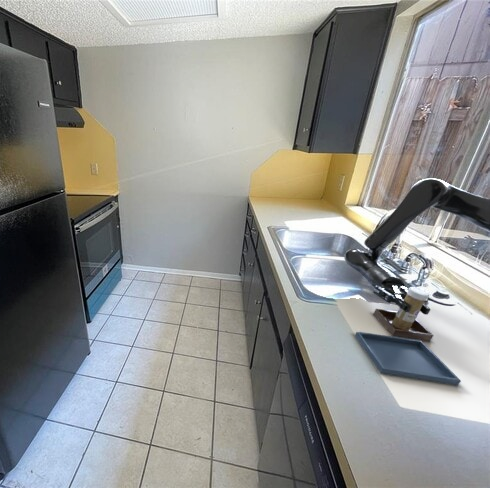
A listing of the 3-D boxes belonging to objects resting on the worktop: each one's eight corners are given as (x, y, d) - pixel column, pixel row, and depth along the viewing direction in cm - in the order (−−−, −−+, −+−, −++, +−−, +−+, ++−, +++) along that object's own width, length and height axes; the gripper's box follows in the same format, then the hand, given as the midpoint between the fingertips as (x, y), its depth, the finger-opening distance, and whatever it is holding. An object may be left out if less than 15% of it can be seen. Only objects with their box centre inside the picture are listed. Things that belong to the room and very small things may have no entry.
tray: (418, 345, 75) (421, 340, 74) (456, 386, 63) (461, 380, 62) (354, 336, 77) (356, 331, 76) (380, 374, 65) (383, 368, 64)
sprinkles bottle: (406, 333, 78) (426, 296, 73) (388, 324, 82) (406, 288, 76) (412, 328, 81) (432, 292, 75) (394, 319, 84) (412, 284, 79)
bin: (406, 319, 86) (409, 313, 84) (429, 342, 76) (433, 335, 75) (372, 315, 87) (375, 308, 86) (391, 337, 78) (395, 330, 77)
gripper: (365, 268, 90) (396, 297, 75) (410, 273, 88) (452, 304, 73) (357, 286, 93) (386, 317, 78) (401, 291, 91) (439, 324, 76)
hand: (418, 310), depth 75 cm, fingers closed on sprinkles bottle, 4 cm apart
